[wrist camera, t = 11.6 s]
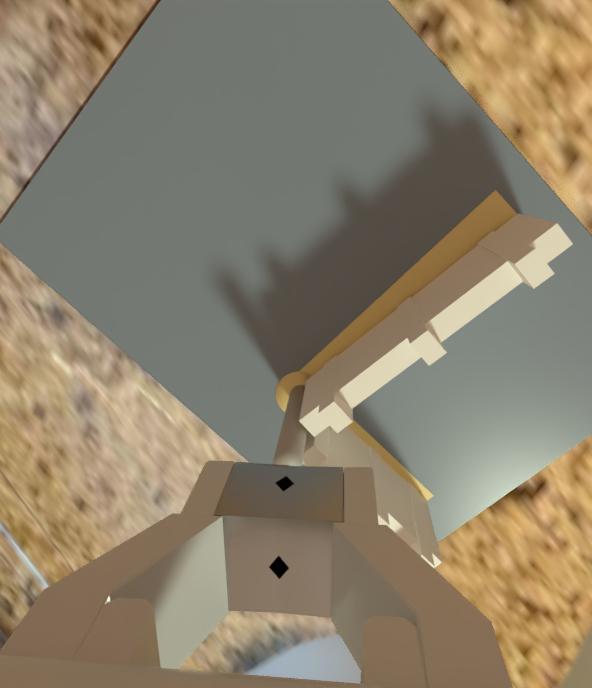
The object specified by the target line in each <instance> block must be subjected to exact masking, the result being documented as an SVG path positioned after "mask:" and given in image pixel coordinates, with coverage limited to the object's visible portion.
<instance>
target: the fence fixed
mask: <svg viewBox="0 0 592 688" xmlns="http://www.w3.org/2000/svg"><path fill="white" fill-rule="evenodd" d="M304 391H305V386H304V385H298V386H295V387H294V388H293V389H292V390H291V392H290V396H289V400H288V404H287V408H286V411H285V415H284V419H283V423H282V427H281V431H280V435H279V439H278V443H277V447H276V451H275V455H274V459H273V464H278V465H290V466H302V463H303V464H304V465H305V466H317V467H343V472H344V467H371V468H372V469H373V472H374V482H375V493H376V503H377V514H378V524H379V525H387V526H389V527H390V528H391V529H392V530H393V531H394V532H395V533H396V534H397V535H398V536H399V537H400V538H401V539H403V540H404V541H405V542H406V543H407V544H408V545H409V546H410V547H411V548H412V549H413V550H414V551H415V552H417V553H418V554H419V555H420V556H421V557H422V558H423V559H424V560H425V561H426V562H427V563H428V564H430V565H431V566H432V567H433V568H435V567H436V566H438V565H439V564H441V563H442V560H441V556H440V552H439V548H438V544H437V540H436V536H435V531H434V527H433V523H432V519H431V515H430V511H429V507H428V503H427V500H426V499H424V498H423V497H422V496H421V495H420V494H419V493H418V490H417V489H416V488H415V487H414V486H413V485H412V484H411V483H409V482H408V481H405V480H404V479H403V478H402V477H401V476H400V475H399V474H398V473H397V472H396V471H395V470H393V469H392V468H391V467H390V466H389V465H388V464H387V463H386V462H385V461H384V460H383V459H382V458H381V455H380V454H379V453H377V452H376V451H375V450H374V449H373V448H372V447H371V446H368V445H367V444H366V443H365V442H364V441H363V440H361V439H360V438H359V437H358V436H357V435H356V434H355V433H354V432H353V431H352V430H351V429H350V428H349V427H348V426H347V427H345V428H344V429H343V430H341V431H340V432H338V433H336V432H335V431H334V430H333V428H332V427H331V426H328V427H327V428H326V429H324V430H323V431H322V432H320V433H319V434H318V435H316V436H315V437H314V436H313V435H312V434H311V433H310V432H309V431H308V430H307V429H306V428H305V427H304V426H303V425H302V424H301V423H300V422H299V417H300V412H301V407H302V401H303V396H304Z"/></svg>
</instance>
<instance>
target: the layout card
mask: <svg viewBox="0 0 592 688" xmlns="http://www.w3.org/2000/svg"><path fill="white" fill-rule="evenodd" d="M518 213H519V214H523V215H527V216H531V217H535V218H539V219H543V220H547V221H551V222H555V223H558V225H559V226H560V227H561V229H562V230H563V231H564V233H565V234H566V235H567V237H568V238H569V239H570V241H571V242H572V243H573V245H571V246H570V247H569V248H567V249H566V250H565V251H563V252H562V253H561V254H559V255H558V256H557V257H555V258H554V259H553V260H551V261H550V262H549V263H547V264H548V266H549V267H550V268H551V269H552V271H553V272H554V273H555V274H553V275H552V276H551V277H549V278H548V279H547V280H545V281H544V282H543V283H541V284H540V285H538V286H537V287H536V288H534V289H533V288H532V287H530V286H529V285H527V284H525V283H524V282H522V283H520V284H519V285H518V286H516V287H515V288H514V289H512V290H511V291H510V292H508V293H507V294H506V295H504V296H503V297H502V298H500V299H499V300H498V301H496V302H495V303H494V304H492V305H491V306H489V307H488V308H487V309H485V310H484V311H483V312H481V313H480V314H479V315H477V316H476V317H475V318H473V319H472V320H471V321H469V322H468V323H467V324H465V325H464V326H463V327H461V328H460V329H459V330H457V331H456V332H455V333H453V334H452V335H451V336H449V337H448V338H447V339H445V340H444V341H442V342H441V343H442V345H443V346H444V348H445V350H446V352H447V353H446V354H445V355H443V356H442V357H441V358H439V359H438V360H436V361H435V362H434V363H432V364H431V365H430V366H429V365H428V364H427V363H426V362H425V361H424V360H423V358H422V357H421V358H420V359H418V360H417V361H416V362H414V363H413V364H412V365H410V366H409V367H408V368H406V369H405V370H404V371H402V372H401V373H400V374H398V375H397V376H395V377H394V378H393V379H391V380H390V381H389V382H387V383H386V384H385V385H383V386H382V387H381V388H379V389H378V390H377V391H375V392H374V393H373V394H371V395H370V396H369V397H367V398H366V399H365V400H363V401H362V402H361V403H359V404H358V405H357V406H355V407H354V408H353V422H352V423H351V424H349V425H348V427H349V428H350V429H351V430H352V431H353V432H354V433H355V434H356V435H357V436H358V437H359V438H360V439H361V440H363V441H364V442H365V443H366V444H367V445H368V446H371V447H372V448H373V449H374V450H375V451H376V452H377V453H379V454H380V455H381V458H382V459H383V460H384V461H385V462H386V463H387V464H388V465H389V466H390V467H391V468H392V469H393V470H395V471H396V472H397V473H398V474H399V475H400V476H401V477H402V478H403V479H404V480H405V481H408V482H409V483H411V484H412V485H413V486H414V487H415V488H416V489H417V490H418V493H419V494H420V495H421V496H422V497H423V498H424V499H426V500H427V503H428V507H429V511H430V515H431V519H432V523H433V527H434V531H435V536H436V540H437V543H438V542H439V541H440V540H442V539H443V538H445V537H446V536H448V535H449V534H450V533H452V532H453V531H455V530H456V529H458V528H459V527H460V526H462V525H463V524H465V523H466V522H467V521H469V520H470V519H472V518H473V517H475V516H476V515H477V514H479V513H480V512H482V511H483V510H485V509H486V508H487V507H489V506H490V505H492V504H493V503H495V502H496V501H497V500H499V499H500V498H502V497H503V496H505V495H506V494H507V493H509V492H510V491H512V490H513V489H515V488H516V487H517V486H519V485H520V484H522V483H523V482H525V481H526V480H527V479H529V478H530V477H532V476H533V475H535V474H536V473H537V472H539V471H540V470H542V469H543V468H544V467H546V466H547V465H549V464H550V463H552V462H553V461H554V460H556V459H557V458H559V457H560V456H562V455H563V454H564V453H566V452H567V451H569V450H570V449H572V448H573V447H574V446H576V445H577V444H579V443H580V442H582V441H583V440H584V439H586V438H587V437H589V436H590V435H592V236H591V234H590V233H589V232H588V231H587V230H586V229H585V228H584V226H583V225H582V224H581V223H580V222H579V221H578V219H577V218H576V217H575V216H574V215H573V214H572V213H571V211H570V210H569V209H568V208H567V207H566V206H565V204H564V203H563V202H562V201H561V200H560V199H559V198H558V196H557V195H556V194H555V193H554V192H553V191H552V189H551V188H550V187H549V186H548V185H547V184H546V183H545V181H544V180H543V179H542V178H541V177H540V176H539V175H538V173H537V172H536V171H535V170H534V169H533V168H532V166H531V165H530V164H529V163H528V162H527V161H526V160H525V158H524V157H523V156H522V155H521V154H520V153H519V151H518V150H517V149H516V148H515V147H514V146H513V145H512V143H511V142H510V141H509V140H508V139H507V138H506V136H505V135H504V134H503V133H502V132H501V131H500V130H499V128H498V127H497V126H496V125H495V124H494V123H493V121H492V120H491V119H490V118H489V117H488V116H487V115H486V113H485V112H484V111H483V110H482V109H481V108H480V107H479V105H478V104H477V103H476V102H475V101H474V100H473V98H472V97H471V96H470V95H469V94H468V93H467V92H466V90H465V89H464V88H463V87H462V86H461V85H460V83H459V82H458V81H457V80H456V79H455V78H454V77H453V75H452V74H451V73H450V72H449V71H448V70H447V68H446V67H445V66H444V65H443V64H442V63H441V62H440V60H439V59H438V58H437V57H436V56H435V55H434V54H433V52H432V51H431V50H430V49H429V48H428V47H427V45H426V44H425V43H424V42H423V41H422V40H421V39H420V37H419V36H418V35H417V34H416V33H415V32H414V30H413V29H412V28H411V27H410V26H409V25H408V24H407V22H406V21H405V20H404V19H403V18H402V17H401V15H400V14H399V13H398V12H397V11H396V10H395V9H394V7H393V6H392V5H391V4H390V3H389V2H388V1H387V0H161V1H160V2H159V3H158V5H157V6H156V8H155V9H154V10H153V12H152V13H151V15H150V16H149V17H148V19H147V20H146V22H145V23H144V24H143V26H142V27H141V29H140V30H139V31H138V33H137V34H136V36H135V37H134V38H133V40H132V41H131V43H130V44H129V45H128V47H127V48H126V49H125V51H124V52H123V54H122V55H121V56H120V58H119V59H118V61H117V62H116V63H115V65H114V66H113V68H112V69H111V70H110V72H109V73H108V75H107V76H106V77H105V79H104V80H103V82H102V83H101V84H100V86H99V87H98V89H97V90H96V91H95V93H94V94H93V96H92V97H91V98H90V100H89V101H88V102H87V104H86V105H85V107H84V108H83V109H82V111H81V112H80V114H79V115H78V116H77V118H76V119H75V121H74V122H73V123H72V125H71V126H70V128H69V129H68V130H67V132H66V133H65V135H64V136H63V137H62V139H61V140H60V142H59V143H58V144H57V146H56V147H55V149H54V150H53V151H52V153H51V154H50V156H49V157H48V158H47V160H46V161H45V162H44V164H43V165H42V167H41V168H40V169H39V171H38V172H37V174H36V175H35V176H34V178H33V179H32V181H31V182H30V183H29V185H28V186H27V188H26V189H25V190H24V192H23V193H22V195H21V196H20V197H19V199H18V200H17V202H16V203H15V204H14V206H13V207H12V209H11V210H10V211H9V213H8V214H7V215H6V217H5V218H4V220H3V221H2V222H1V224H0V243H1V244H2V245H3V246H4V247H5V248H7V249H8V250H9V251H10V252H11V253H12V254H13V255H15V256H16V257H17V258H18V259H19V260H20V261H21V262H23V263H24V264H25V265H26V266H27V267H28V268H29V269H30V270H32V271H33V272H34V273H35V274H36V275H37V276H38V277H40V278H41V279H42V280H43V281H44V282H45V283H46V284H47V285H49V286H50V287H51V288H52V289H53V290H54V291H55V292H57V293H58V294H59V295H60V296H61V297H62V298H63V299H65V300H66V301H67V302H68V303H69V304H70V305H71V306H72V307H74V308H75V309H76V310H77V311H78V312H79V313H80V314H82V315H83V316H84V317H85V318H86V319H87V320H88V321H90V322H91V323H92V324H93V325H94V326H95V327H96V328H97V329H99V330H100V331H101V332H102V333H103V334H104V335H105V336H107V337H108V338H109V339H110V340H111V341H112V342H113V343H115V344H116V345H117V346H118V347H119V348H120V349H121V350H122V351H124V352H125V353H126V354H127V355H128V356H129V357H130V358H132V359H133V360H134V361H135V362H136V363H137V364H138V365H139V366H141V367H142V368H143V369H144V370H145V371H146V372H147V373H149V374H150V375H151V376H152V377H153V378H154V379H155V380H157V381H158V382H159V383H160V384H161V385H162V386H163V387H164V388H166V389H167V390H168V391H169V392H170V393H171V394H172V395H174V396H175V397H176V398H177V399H178V400H179V401H180V402H182V403H183V404H184V405H185V406H186V407H187V408H188V409H189V410H191V411H192V412H193V413H194V414H195V415H196V416H197V417H199V418H200V419H201V420H202V421H203V422H204V423H205V424H207V425H208V426H209V427H210V428H211V429H212V430H213V431H214V432H216V433H217V434H218V435H219V436H220V437H221V438H222V439H224V440H225V441H226V442H227V443H228V444H229V445H230V446H231V447H233V448H234V449H235V450H236V451H237V452H238V453H239V454H241V455H242V456H243V457H244V458H245V459H246V460H247V461H249V462H250V463H262V464H273V459H274V455H275V451H276V447H277V443H278V439H279V435H280V431H281V427H282V423H283V419H284V415H285V411H286V408H287V404H288V400H289V396H290V392H291V390H292V389H293V388H294V387H295V386H298V385H304V386H305V385H306V381H307V380H308V379H309V378H310V377H312V376H313V375H314V374H315V373H317V372H318V371H319V370H321V369H322V368H323V367H324V364H325V363H327V362H328V361H329V360H331V359H332V358H333V357H334V356H336V355H337V356H338V355H339V354H341V353H342V352H343V351H345V350H346V349H347V348H348V347H350V346H351V345H352V344H353V343H355V342H356V341H357V340H358V339H360V338H361V337H362V336H363V335H365V334H366V333H367V332H369V331H370V330H371V329H372V328H374V327H375V326H376V325H377V324H379V323H380V322H381V321H382V320H384V319H385V318H386V317H388V316H389V315H390V314H391V313H393V312H394V311H395V310H396V309H397V308H396V307H397V306H399V305H400V304H401V303H402V302H404V301H405V300H406V299H408V298H409V297H410V296H411V298H412V297H413V296H414V295H415V294H417V293H418V292H419V291H420V290H422V289H423V288H424V287H425V286H427V285H428V284H429V283H430V282H432V281H433V280H434V279H436V278H437V277H438V276H439V275H441V274H442V273H443V272H444V271H446V270H447V269H448V268H449V267H451V266H452V265H453V264H455V263H456V262H457V261H458V260H460V259H461V258H462V257H463V256H465V255H466V254H467V253H468V252H470V251H471V250H472V249H473V248H475V247H476V246H477V245H478V244H477V243H478V242H479V241H481V240H482V239H483V238H484V237H486V236H487V235H488V234H490V233H491V232H492V231H494V232H495V231H496V230H498V229H499V228H500V227H501V226H503V225H504V224H505V223H506V222H508V221H509V220H510V219H511V218H513V217H514V216H515V215H516V214H518ZM302 466H305V465H304V464H303V463H302Z"/></svg>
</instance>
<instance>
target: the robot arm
mask: <svg viewBox="0 0 592 688" xmlns="http://www.w3.org/2000/svg"><path fill="white" fill-rule="evenodd" d="M228 611H251V612H276V613H288V614H298V615H308V616H318V617H328V618H332V622H333V623H334V625H335V627H336V629H337V630H338V632H339V634H340V635H341V637H342V639H343V641H344V642H345V644H346V645H347V647H348V649H349V651H350V652H351V654H352V656H353V657H354V659H355V661H356V663H357V665H358V666H359V668H360V670H361V684H356V683H344V682H331V681H320V680H307V679H295V678H282V677H270V676H258V675H245V674H233V673H220V672H208V671H195V670H183V669H178V668H179V667H180V666H181V664H182V663H183V662H184V661H185V660H186V659H187V658H188V657H189V656H190V655H191V654H192V653H193V652H194V650H195V649H196V648H197V647H198V646H199V645H200V644H201V643H202V642H203V641H204V640H205V639H206V638H207V636H208V635H209V634H210V633H211V632H212V631H213V630H214V629H215V628H216V627H217V626H218V625H219V623H220V622H221V621H222V620H223V619H224V618H225V617H226V616H227V615H228V614H229V612H228ZM0 688H513V687H512V684H511V681H510V678H509V675H508V672H507V669H506V666H505V663H504V660H503V656H502V653H501V650H500V647H499V644H498V641H497V638H496V635H495V632H494V629H493V626H492V623H491V621H490V620H489V619H488V618H487V617H486V616H485V615H483V614H482V613H481V612H480V611H479V610H478V609H477V608H476V607H475V606H474V605H473V604H472V603H471V602H469V601H468V600H467V599H466V598H465V597H464V596H463V595H462V594H461V593H460V592H459V591H458V590H457V589H455V588H454V587H453V586H452V585H451V584H450V583H449V582H448V581H447V580H446V579H445V578H444V577H442V576H441V575H440V574H439V573H438V572H437V571H436V570H435V569H434V568H433V567H432V566H431V565H430V564H428V563H427V562H426V561H425V560H424V559H423V558H422V557H421V556H420V555H419V554H418V553H417V552H415V551H414V550H413V549H412V548H411V547H410V546H409V545H408V544H407V543H406V542H405V541H404V540H403V539H401V538H400V537H399V536H398V535H397V534H396V533H395V532H394V531H393V530H392V529H391V528H390V527H389V526H387V525H379V524H378V514H377V503H376V493H375V482H374V472H373V469H372V468H371V467H344V472H343V467H317V466H290V465H278V464H262V463H246V462H236V463H235V462H234V461H208V462H207V463H205V465H204V467H203V469H202V471H201V473H200V475H199V477H198V479H197V481H196V483H195V485H194V488H193V490H192V492H191V494H190V496H189V498H188V500H187V502H186V504H185V506H184V508H183V510H182V512H181V514H171V515H169V516H168V517H166V518H164V519H163V520H161V521H159V522H158V523H156V524H154V525H152V526H151V527H149V528H147V529H146V530H144V531H142V532H141V533H139V534H137V535H136V536H134V537H132V538H131V539H129V540H127V541H125V542H124V543H122V544H120V545H119V546H117V547H115V548H114V549H112V550H110V551H109V552H107V553H105V554H104V555H102V556H100V557H99V558H97V559H95V560H93V561H92V562H90V563H88V564H87V565H85V566H83V567H82V568H80V569H78V570H77V571H75V572H73V573H72V574H70V575H68V576H66V577H65V578H63V579H61V580H60V581H58V582H56V583H55V584H53V585H51V586H50V587H48V588H46V589H45V590H44V591H43V592H42V593H41V595H40V596H39V597H38V599H37V600H36V602H35V603H34V604H33V606H32V607H31V608H30V610H29V611H28V613H27V614H26V615H25V617H24V618H23V619H22V621H21V622H20V623H19V625H18V626H17V628H16V629H15V630H14V632H13V633H12V634H11V636H10V637H9V639H8V640H7V641H6V643H5V644H4V645H3V647H2V648H1V650H0Z"/></svg>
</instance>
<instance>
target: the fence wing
mask: <svg viewBox="0 0 592 688" xmlns="http://www.w3.org/2000/svg"><path fill="white" fill-rule="evenodd" d="M477 244H478V245H477V246H476V247H475V248H473V249H472V250H471V251H470V252H468V253H467V254H466V255H465V256H463V257H462V258H461V259H460V260H458V261H457V262H456V263H455V264H453V265H452V266H451V267H449V268H448V269H447V270H446V271H444V272H443V273H442V274H441V275H439V276H438V277H437V278H436V279H434V280H433V281H432V282H430V283H429V284H428V285H427V286H425V287H424V288H423V289H422V290H420V291H419V292H418V293H417V294H415V295H414V296H413V297H412V298H411V296H410V297H409V298H408V299H406V300H405V301H404V302H402V303H401V304H400V305H399V306H397V307H396V308H397V309H396V310H395V311H394V312H393V313H391V314H390V315H389V316H388V317H386V318H385V319H384V320H382V321H381V322H380V323H379V324H377V325H376V326H375V327H374V328H372V329H371V330H370V331H369V332H367V333H366V334H365V335H363V336H362V337H361V338H360V339H358V340H357V341H356V342H355V343H353V344H352V345H351V346H350V347H348V348H347V349H346V350H345V351H343V352H342V353H341V354H339V355H338V356H337V355H336V356H334V357H333V358H332V359H331V360H329V361H328V362H327V363H325V364H324V367H323V368H322V369H321V370H319V371H318V372H317V373H315V374H314V375H313V376H312V377H310V378H309V379H308V380H307V381H306V385H305V391H304V396H303V401H302V407H301V412H300V417H299V422H300V423H301V424H302V425H303V426H304V427H305V428H306V429H307V430H308V431H309V432H310V433H311V434H312V435H313V436H314V437H315V436H316V435H318V434H319V433H320V432H322V431H323V430H324V429H326V428H327V427H328V426H331V427H332V428H333V430H334V431H335V432H336V433H338V432H340V431H341V430H343V429H344V428H345V427H347V426H348V425H349V424H351V423H352V422H353V408H354V407H355V406H357V405H358V404H359V403H361V402H362V401H363V400H365V399H366V398H367V397H369V396H370V395H371V394H373V393H374V392H375V391H377V390H378V389H379V388H381V387H382V386H383V385H385V384H386V383H387V382H389V381H390V380H391V379H393V378H394V377H395V376H397V375H398V374H400V373H401V372H402V371H404V370H405V369H406V368H408V367H409V366H410V365H412V364H413V363H414V362H416V361H417V360H418V359H420V358H421V357H422V358H423V360H424V361H425V362H426V363H427V364H428V365H429V366H430V365H431V364H432V363H434V362H435V361H436V360H438V359H439V358H441V357H442V356H443V355H445V354H446V353H447V352H446V350H445V348H444V346H443V345H442V343H441V342H442V341H444V340H445V339H447V338H448V337H449V336H451V335H452V334H453V333H455V332H456V331H457V330H459V329H460V328H461V327H463V326H464V325H465V324H467V323H468V322H469V321H471V320H472V319H473V318H475V317H476V316H477V315H479V314H480V313H481V312H483V311H484V310H485V309H487V308H488V307H489V306H491V305H492V304H494V303H495V302H496V301H498V300H499V299H500V298H502V297H503V296H504V295H506V294H507V293H508V292H510V291H511V290H512V289H514V288H515V287H516V286H518V285H519V284H520V283H522V282H524V283H525V284H527V285H529V286H530V287H532V288H533V289H534V288H536V287H537V286H538V285H540V284H541V283H543V282H544V281H545V280H547V279H548V278H549V277H551V276H552V275H553V274H555V273H554V272H553V271H552V269H551V268H550V267H549V266H548V264H547V263H549V262H550V261H551V260H553V259H554V258H555V257H557V256H558V255H559V254H561V253H562V252H563V251H565V250H566V249H567V248H569V247H570V246H571V245H573V243H572V242H571V241H570V239H569V238H568V237H567V235H566V234H565V233H564V231H563V230H562V229H561V227H560V226H559V225H558V223H555V222H551V221H547V220H543V219H539V218H535V217H531V216H527V215H523V214H519V213H518V214H516V215H515V216H514V217H513V218H511V219H510V220H509V221H508V222H506V223H505V224H504V225H503V226H501V227H500V228H499V229H498V230H496V231H495V232H494V231H492V232H491V233H490V234H488V235H487V236H486V237H484V238H483V239H482V240H481V241H479V242H478V243H477Z"/></svg>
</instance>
